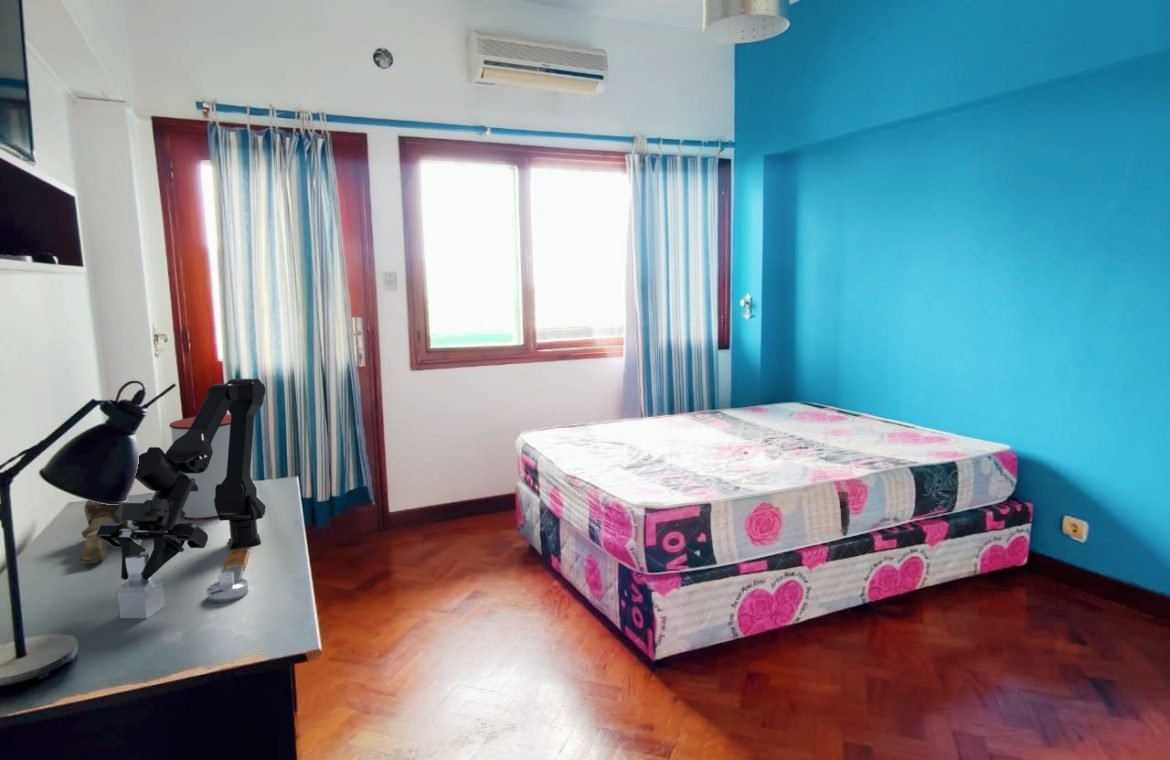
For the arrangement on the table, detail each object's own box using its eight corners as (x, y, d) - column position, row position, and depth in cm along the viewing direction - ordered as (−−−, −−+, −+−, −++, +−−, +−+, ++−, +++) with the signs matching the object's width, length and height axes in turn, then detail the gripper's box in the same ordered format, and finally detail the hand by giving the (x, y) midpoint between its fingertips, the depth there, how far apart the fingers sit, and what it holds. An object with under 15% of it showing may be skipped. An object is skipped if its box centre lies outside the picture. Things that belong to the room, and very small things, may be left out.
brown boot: (86, 599, 151) (68, 563, 141) (94, 521, 165) (78, 483, 155) (125, 591, 154) (110, 555, 144) (130, 515, 168) (117, 477, 158)
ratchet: (222, 561, 146) (220, 541, 146) (257, 556, 149) (256, 537, 148) (205, 606, 125) (202, 584, 125) (246, 600, 128) (244, 578, 127)
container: (202, 499, 190) (194, 414, 186) (261, 499, 190) (254, 414, 186) (164, 520, 173) (154, 427, 169) (229, 520, 173) (220, 426, 169)
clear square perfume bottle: (140, 605, 126) (133, 550, 124) (165, 605, 126) (159, 550, 124) (120, 618, 121) (113, 561, 119) (146, 618, 121) (140, 561, 119)
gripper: (97, 482, 124) (55, 562, 115) (192, 482, 123) (158, 563, 114) (132, 508, 133) (95, 584, 124) (221, 509, 132) (191, 585, 123)
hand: (133, 579), depth 121 cm, fingers closed on clear square perfume bottle, 4 cm apart
